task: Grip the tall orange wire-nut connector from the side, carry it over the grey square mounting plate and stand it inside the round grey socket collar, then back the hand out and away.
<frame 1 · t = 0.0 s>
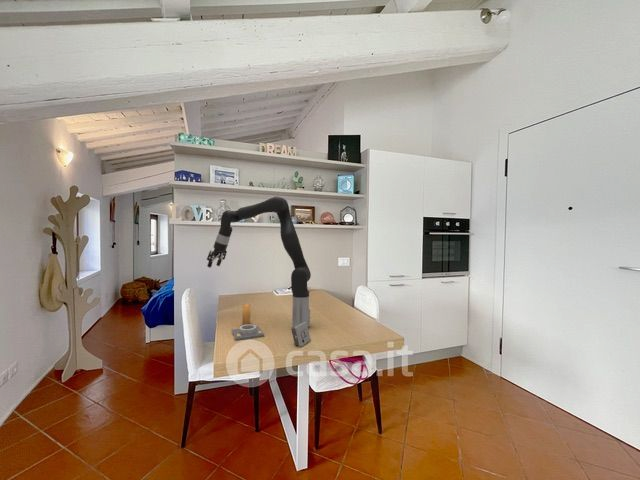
hand: (213, 266, 167), 31 cm above the table, tool tilted 20°, fingers open, 8 cm apart
grey square mounting plate: (247, 333, 141), on the table
electrical switch: (300, 343, 129), on the table
wire nut: (246, 324, 156), on the table
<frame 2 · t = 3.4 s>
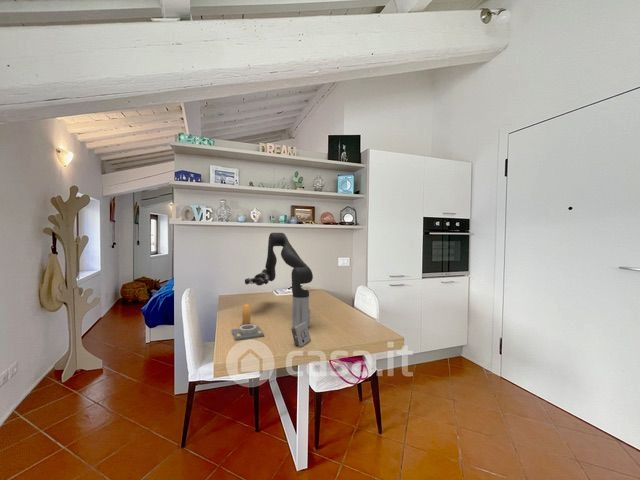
hand: (253, 283, 167), 22 cm above the table, tool horizontal, fingers open, 8 cm apart
nothing on the table moved.
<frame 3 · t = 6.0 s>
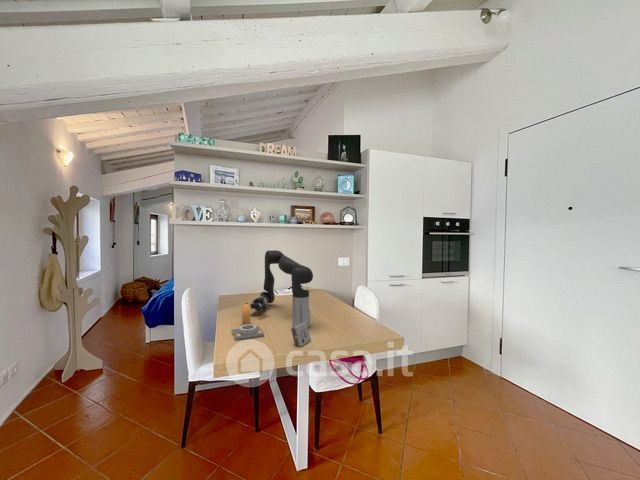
hand: (251, 309, 164), 6 cm above the table, tool horizontal, fingers open, 8 cm apart
nothing on the table moved.
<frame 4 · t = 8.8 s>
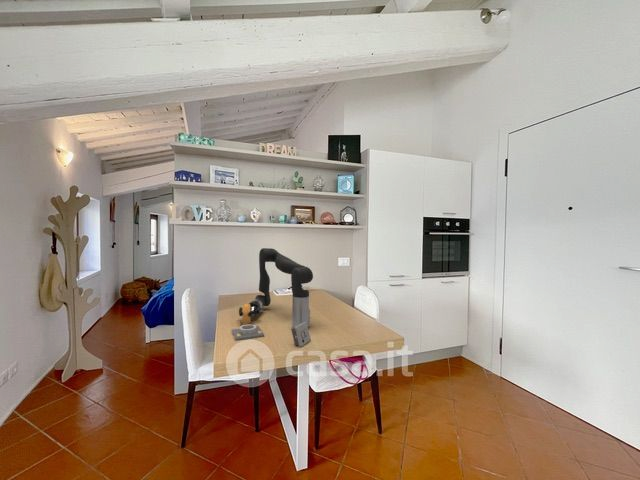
hand: (244, 314, 153), 6 cm above the table, tool horizontal, fingers closed on wire nut, 4 cm apart
wire nut: (246, 324, 156), on the table, touching gripper
everything else where it was.
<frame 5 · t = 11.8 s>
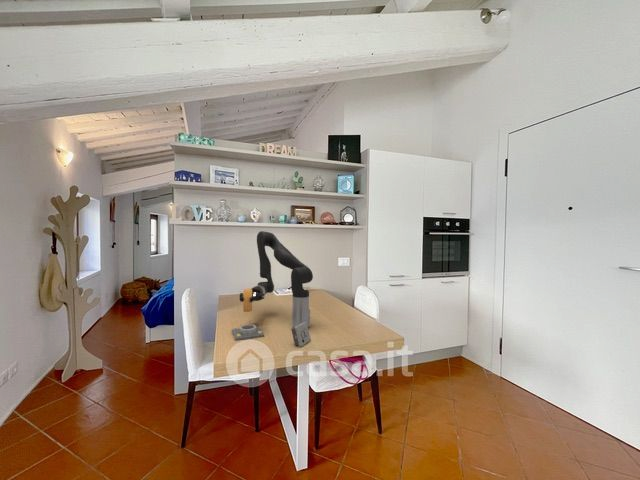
hand: (245, 300, 138), 18 cm above the table, tool horizontal, fingers closed on wire nut, 4 cm apart
wire nut: (247, 310, 141), point 12 cm above the table, touching gripper
everything else where it was.
when the fingers open (8 cm above the table, at t = 15.1 s): wire nut stays where it is, resting on grey square mounting plate.
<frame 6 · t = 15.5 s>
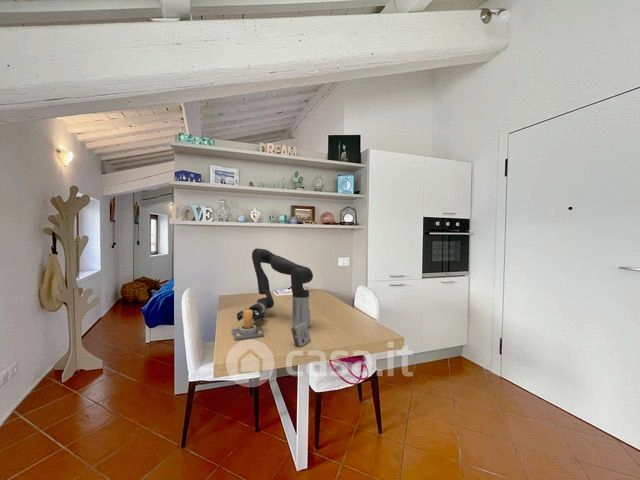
hand: (246, 319, 138), 8 cm above the table, tool horizontal, fingers open, 8 cm apart
wire nut: (247, 331, 141), point 1 cm above the table, touching grey square mounting plate
everything else where it was.
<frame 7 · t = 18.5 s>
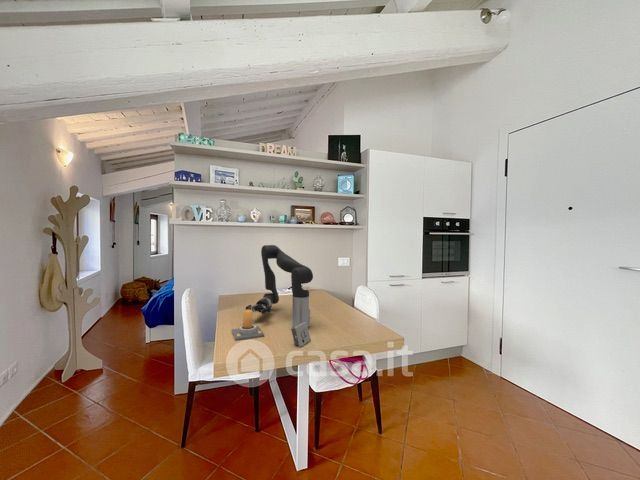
hand: (254, 312, 151), 8 cm above the table, tool horizontal, fingers open, 8 cm apart
nothing on the table moved.
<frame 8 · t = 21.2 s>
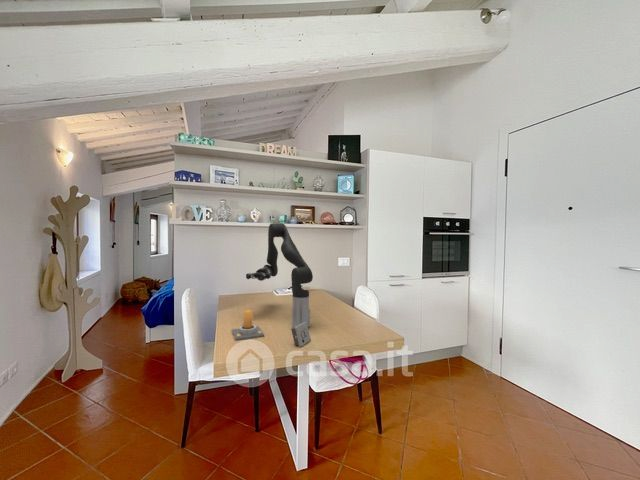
hand: (254, 277, 160), 26 cm above the table, tool horizontal, fingers open, 8 cm apart
nothing on the table moved.
at the end: wire nut 0.0 cm off-centre on the grey square mounting plate, point 1.0 cm above the grey square mounting plate's base; wire nut tilted 0°; the gripper is holding nothing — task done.
